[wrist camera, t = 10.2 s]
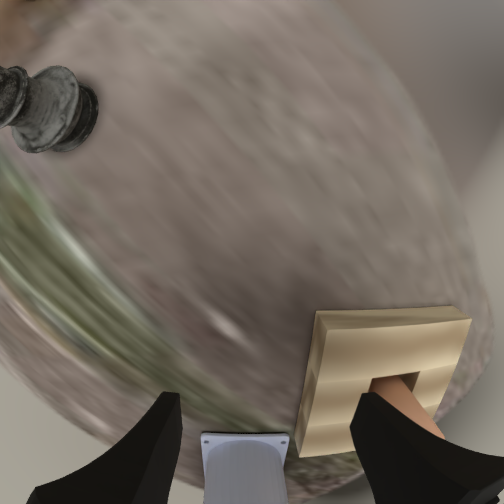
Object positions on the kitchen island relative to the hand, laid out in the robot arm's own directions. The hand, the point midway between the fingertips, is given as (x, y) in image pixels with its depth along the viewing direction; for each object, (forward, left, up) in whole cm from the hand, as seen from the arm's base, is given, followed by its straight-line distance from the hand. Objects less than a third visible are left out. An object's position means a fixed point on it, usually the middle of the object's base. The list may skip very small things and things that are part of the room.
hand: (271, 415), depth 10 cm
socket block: (-7, -11, -11) cm, 16 cm away
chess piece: (+13, +14, -11) cm, 22 cm away
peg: (-6, -11, -11) cm, 16 cm away
